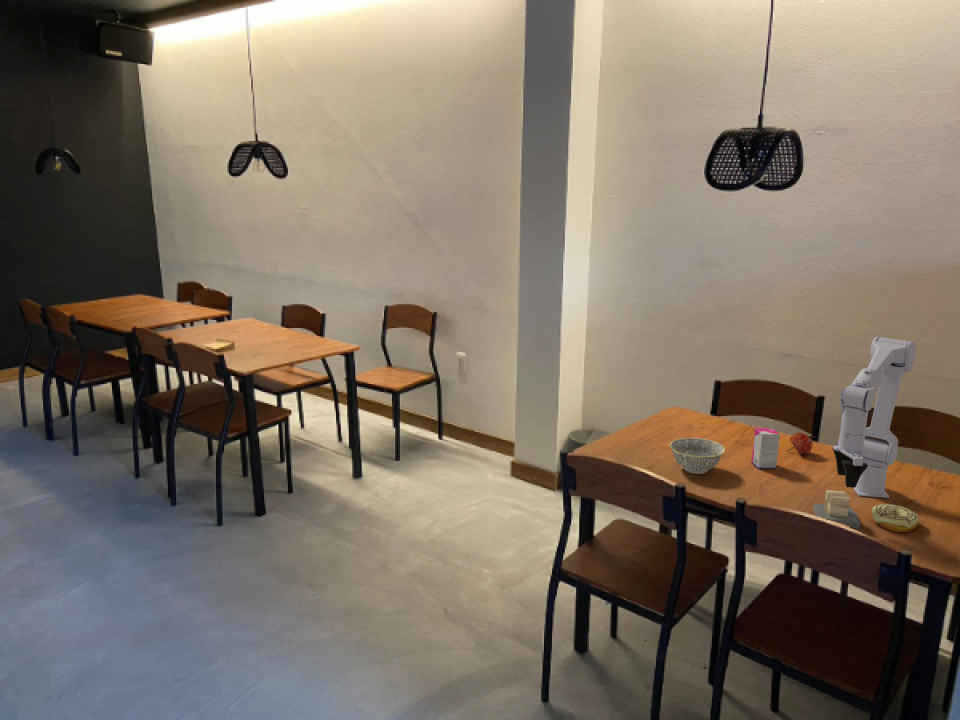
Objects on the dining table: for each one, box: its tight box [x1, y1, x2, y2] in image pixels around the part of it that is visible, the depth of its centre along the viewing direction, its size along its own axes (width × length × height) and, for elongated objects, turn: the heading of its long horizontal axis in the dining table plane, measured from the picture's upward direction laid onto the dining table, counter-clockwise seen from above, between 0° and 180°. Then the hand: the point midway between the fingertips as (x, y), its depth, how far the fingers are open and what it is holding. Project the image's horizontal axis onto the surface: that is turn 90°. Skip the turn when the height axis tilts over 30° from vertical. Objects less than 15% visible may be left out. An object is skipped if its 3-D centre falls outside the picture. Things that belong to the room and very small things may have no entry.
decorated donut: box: [871, 503, 920, 533], centre depth 183 cm, size 10×11×4 cm
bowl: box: [669, 437, 726, 475], centre depth 217 cm, size 16×16×8 cm
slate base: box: [812, 502, 862, 530], centre depth 185 cm, size 9×9×2 cm
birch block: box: [823, 489, 851, 517], centre depth 184 cm, size 4×4×5 cm
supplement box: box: [750, 427, 781, 470], centre depth 219 cm, size 6×6×12 cm
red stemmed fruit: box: [785, 431, 816, 456], centre depth 229 cm, size 7×7×10 cm
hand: (846, 480), depth 185 cm, fingers open, 7 cm apart
